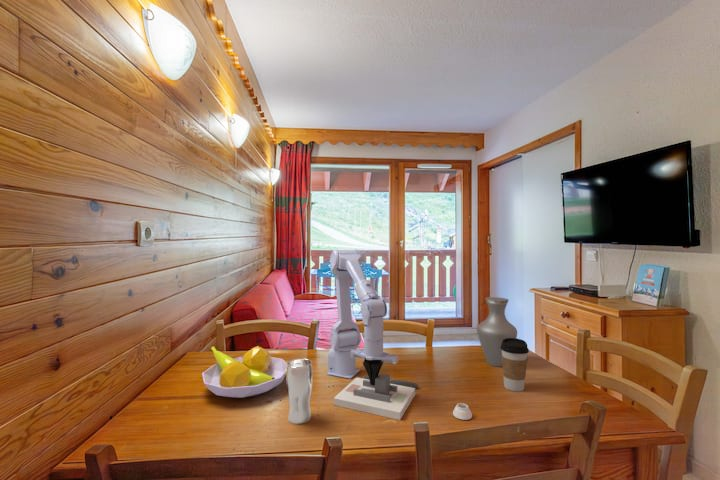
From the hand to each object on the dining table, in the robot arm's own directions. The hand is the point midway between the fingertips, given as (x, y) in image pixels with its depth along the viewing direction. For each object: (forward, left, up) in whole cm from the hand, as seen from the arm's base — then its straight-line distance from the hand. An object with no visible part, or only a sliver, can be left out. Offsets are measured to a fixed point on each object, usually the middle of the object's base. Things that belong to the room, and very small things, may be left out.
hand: (373, 383), depth 103 cm
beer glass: (-14, -18, -5) cm, 23 cm away
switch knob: (+3, 0, -2) cm, 4 cm away
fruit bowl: (-41, -9, -5) cm, 43 cm away
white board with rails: (+1, +3, -5) cm, 5 cm away
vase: (+33, +46, -5) cm, 57 cm away
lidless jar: (+26, +1, -5) cm, 26 cm away
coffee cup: (+39, +26, -5) cm, 47 cm away
